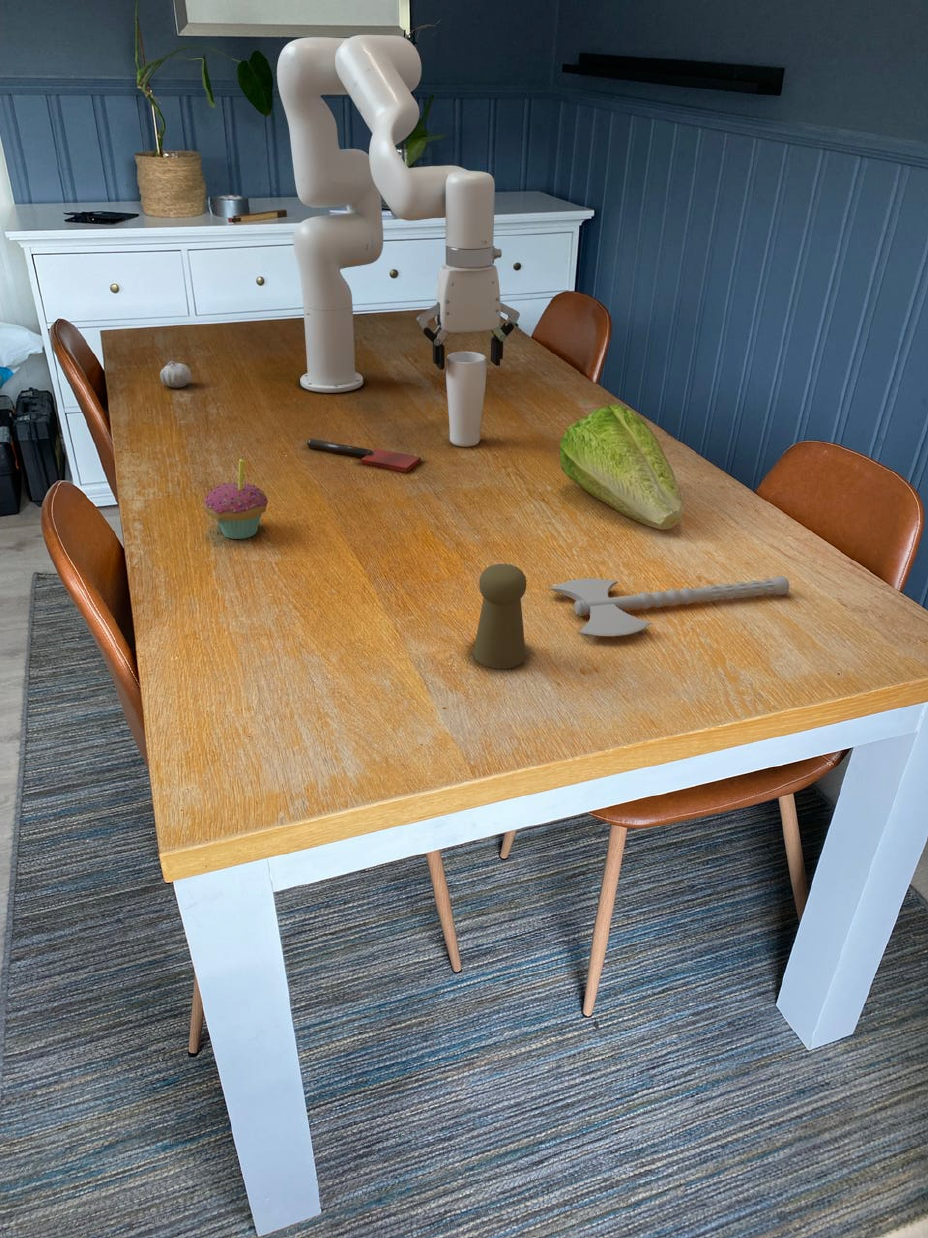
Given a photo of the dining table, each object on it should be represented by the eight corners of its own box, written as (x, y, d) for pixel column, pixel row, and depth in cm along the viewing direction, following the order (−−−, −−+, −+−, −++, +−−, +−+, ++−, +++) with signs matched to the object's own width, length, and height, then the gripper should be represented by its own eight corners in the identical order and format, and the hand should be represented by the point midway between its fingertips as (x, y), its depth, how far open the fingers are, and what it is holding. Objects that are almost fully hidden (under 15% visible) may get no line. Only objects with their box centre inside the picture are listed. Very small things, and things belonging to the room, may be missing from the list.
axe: (756, 568, 129) (759, 552, 128) (812, 620, 117) (816, 603, 116) (545, 590, 122) (546, 574, 121) (582, 648, 111) (584, 631, 110)
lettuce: (618, 513, 129) (706, 453, 129) (538, 429, 145) (617, 376, 144) (643, 573, 140) (724, 517, 140) (566, 489, 155) (639, 439, 155)
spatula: (299, 452, 161) (299, 443, 160) (316, 442, 165) (315, 433, 165) (406, 472, 155) (406, 463, 154) (420, 461, 159) (420, 452, 158)
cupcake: (281, 526, 137) (274, 447, 130) (246, 550, 130) (237, 468, 124) (232, 514, 140) (223, 436, 133) (195, 537, 133) (184, 456, 127)
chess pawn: (470, 640, 112) (473, 557, 106) (521, 639, 112) (527, 556, 107) (475, 669, 107) (478, 583, 101) (529, 668, 107) (535, 582, 102)
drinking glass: (485, 436, 169) (488, 352, 162) (482, 450, 164) (485, 363, 156) (447, 434, 170) (448, 350, 162) (443, 448, 164) (444, 361, 156)
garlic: (169, 392, 186) (165, 366, 184) (157, 385, 190) (154, 359, 187) (198, 387, 190) (194, 361, 187) (186, 380, 193) (182, 354, 190)
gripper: (513, 251, 156) (509, 356, 165) (410, 255, 152) (412, 363, 160) (528, 259, 150) (524, 368, 158) (421, 264, 145) (423, 375, 154)
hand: (467, 365), depth 159 cm, fingers open, 9 cm apart
